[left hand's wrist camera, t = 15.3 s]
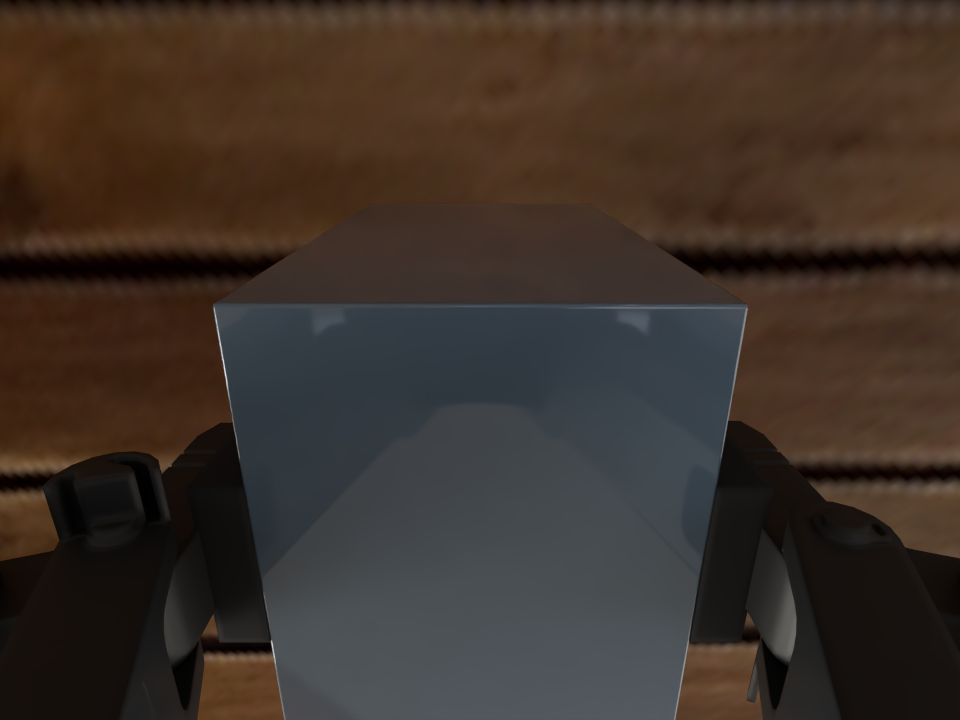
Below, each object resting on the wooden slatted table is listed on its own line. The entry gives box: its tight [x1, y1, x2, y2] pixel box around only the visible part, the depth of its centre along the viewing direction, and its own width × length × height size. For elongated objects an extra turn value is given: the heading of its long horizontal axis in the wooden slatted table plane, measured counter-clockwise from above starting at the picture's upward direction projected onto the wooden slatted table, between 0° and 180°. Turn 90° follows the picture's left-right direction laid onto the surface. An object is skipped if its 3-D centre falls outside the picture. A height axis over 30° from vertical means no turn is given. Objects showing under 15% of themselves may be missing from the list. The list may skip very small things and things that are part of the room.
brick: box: [213, 204, 748, 720], centre depth 13 cm, size 6×8×10 cm
